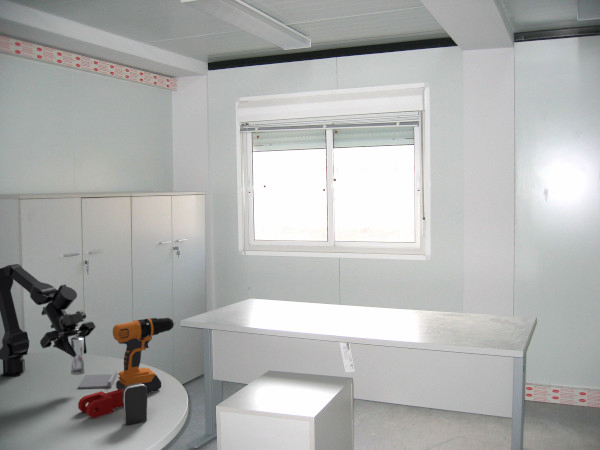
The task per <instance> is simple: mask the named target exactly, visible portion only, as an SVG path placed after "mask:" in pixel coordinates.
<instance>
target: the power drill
mask: <svg viewBox="0 0 600 450" xmlns="http://www.w3.org/2000/svg"><path fill="white" fill-rule="evenodd" d="M173 320H174V319H172V318H170V317H163V318H162V317H160V318H157V317H153V318H151V317H150V318H144V319H136V320H132V321H129V322H124V323H119V324H115V325H114V326H113V327H112V336H113V339H114V340H116V342H117V343H118V344H120V345H122V344H124V345H126V349H125V352H124V357H123V370H122V371H119V372H117V376H118V380H117V381H116V382H115V388H116V390H119V389H123V388H124V387H125V386H127V385H131V384H136V383H142V384H143V385H145V386H146V388H147V394H150V393H154V392H158V391H159V390H160V389H161V388H162V381H161V380H160V378H159V376H158V375H157V374H156V372H154V371H153V370H152V369H150V368H149V367H147V368H146V367H142V368H141V367H140V364H141V361H142V360H141V358H142V352H143V351H145V350H146V349H149V348H150V347H149V342H151V341H152V340H153V336H156V335H159V334H161V333H164V332H170V331H171V330H172V329H173V328H174V325H175V324H176V321H173ZM149 392H150V393H149Z"/></svg>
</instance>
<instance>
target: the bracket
mask: <svg viewBox="0 0 600 450" xmlns="http://www.w3.org/2000/svg"><path fill="white" fill-rule="evenodd" d="M117 376H118V371H117V370H113V372H112V373H109V374H85V375H84V377H83V379H82V381H81V382H80V383H79V385H78V387H77V389H78V390H79V389H81V390H82V389H105V388H106V389H107V388H108V389H109V388H112V386H113V385H114V382H115V381H116V379H117V378H118V377H117Z"/></svg>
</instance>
